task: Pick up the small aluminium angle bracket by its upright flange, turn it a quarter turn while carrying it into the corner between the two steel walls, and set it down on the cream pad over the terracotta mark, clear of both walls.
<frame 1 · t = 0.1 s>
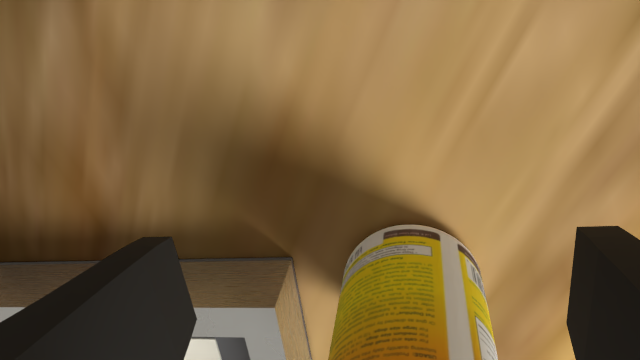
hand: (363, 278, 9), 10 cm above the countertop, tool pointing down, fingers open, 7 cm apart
supplement bottle: (411, 271, 22), on the countertop
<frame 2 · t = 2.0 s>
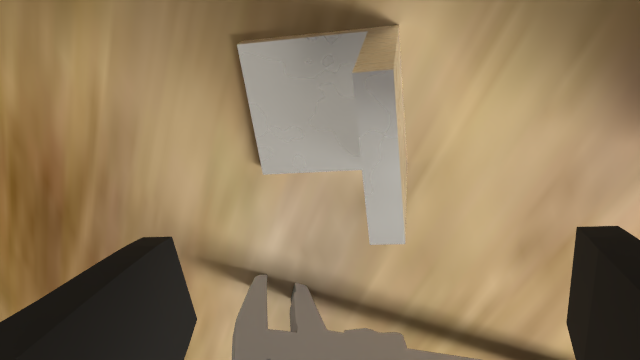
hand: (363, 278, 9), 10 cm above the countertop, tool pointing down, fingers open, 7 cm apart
caliper: (474, 336, 23), on the countertop
bracket: (327, 102, 19), on the countertop
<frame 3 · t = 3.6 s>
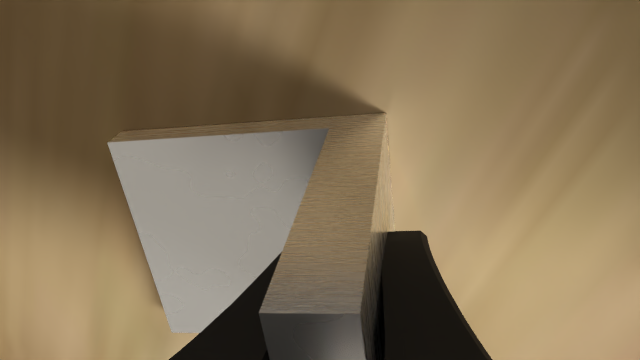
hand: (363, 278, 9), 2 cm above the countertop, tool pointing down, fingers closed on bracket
bracket: (268, 228, 11), on the countertop, touching gripper
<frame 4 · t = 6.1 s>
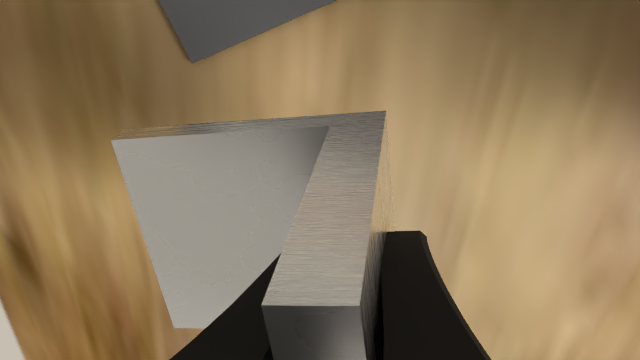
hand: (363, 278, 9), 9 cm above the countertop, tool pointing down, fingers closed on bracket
bracket: (270, 225, 11), point 7 cm above the countertop, touching gripper
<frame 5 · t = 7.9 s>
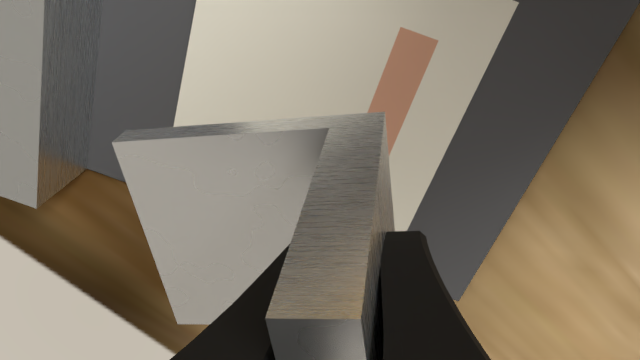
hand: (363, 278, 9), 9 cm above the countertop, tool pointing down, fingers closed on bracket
arena: (321, 90, 17), on the countertop
bracket: (271, 224, 12), point 7 cm above the countertop, touching gripper
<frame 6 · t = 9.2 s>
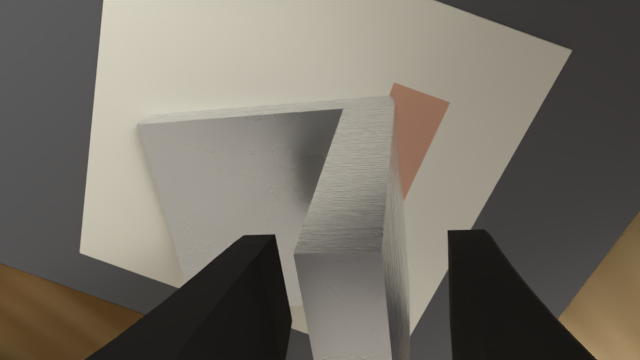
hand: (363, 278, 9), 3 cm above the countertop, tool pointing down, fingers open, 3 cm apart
arena: (283, 164, 12), on the countertop
bracket: (285, 206, 12), resting on arena
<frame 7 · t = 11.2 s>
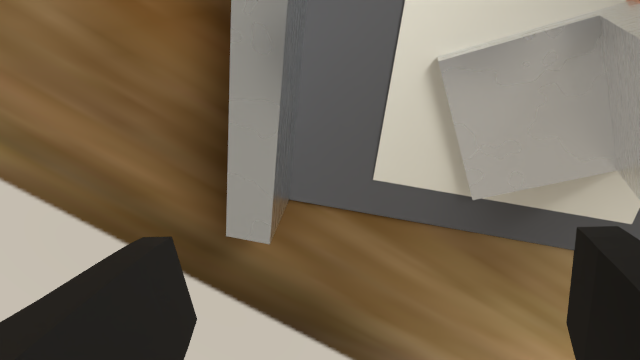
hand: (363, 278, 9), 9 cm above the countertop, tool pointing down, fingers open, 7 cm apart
arena: (537, 75, 16), on the countertop
bracket: (542, 106, 16), resting on arena
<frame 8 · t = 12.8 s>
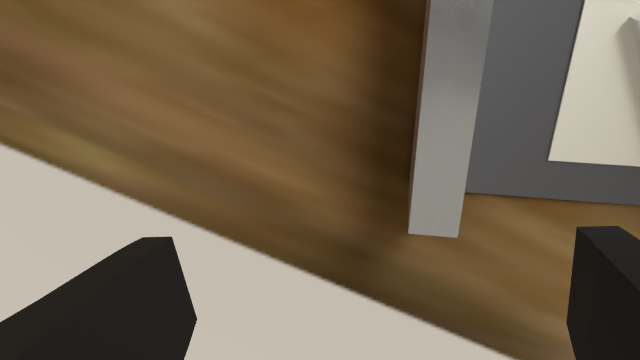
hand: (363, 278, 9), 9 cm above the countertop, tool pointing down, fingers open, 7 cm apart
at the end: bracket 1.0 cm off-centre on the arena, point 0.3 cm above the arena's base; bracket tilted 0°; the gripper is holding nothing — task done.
